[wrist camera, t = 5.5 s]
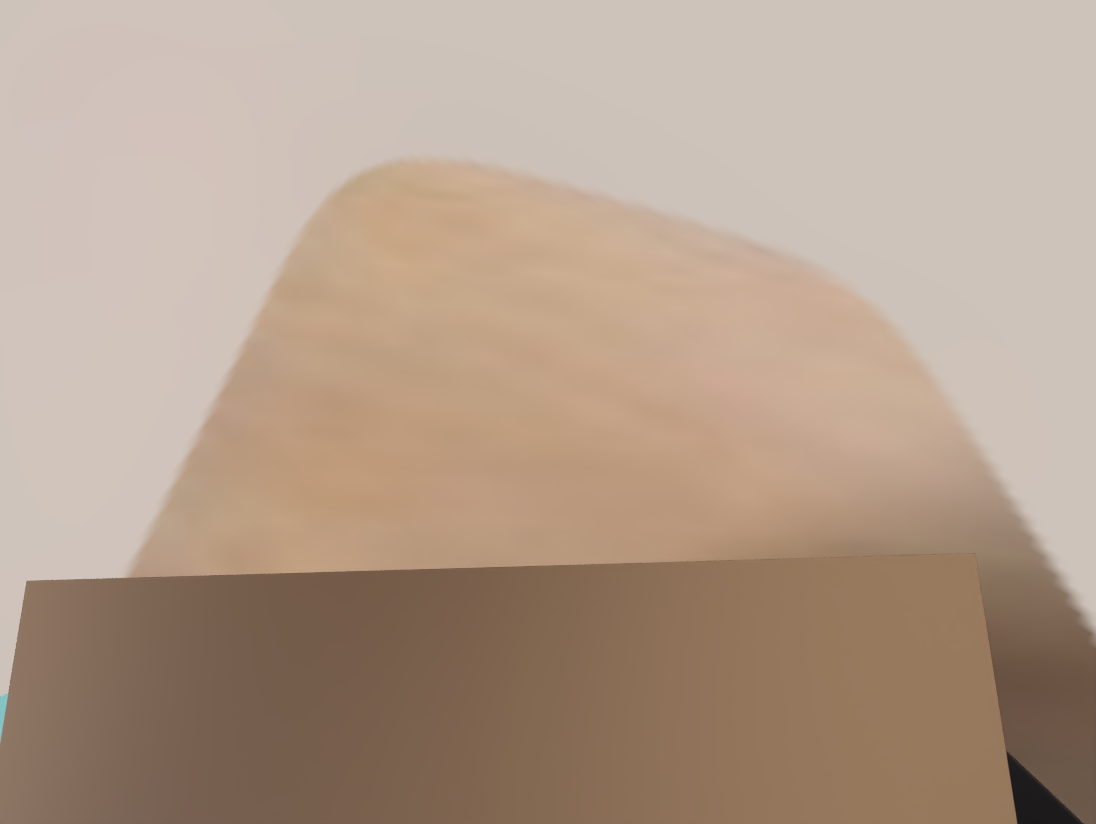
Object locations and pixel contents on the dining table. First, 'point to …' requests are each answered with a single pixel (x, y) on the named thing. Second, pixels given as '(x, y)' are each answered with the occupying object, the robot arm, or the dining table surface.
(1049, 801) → the robot arm
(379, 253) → the dining table surface
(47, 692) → the walnut brick
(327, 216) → the dining table surface
